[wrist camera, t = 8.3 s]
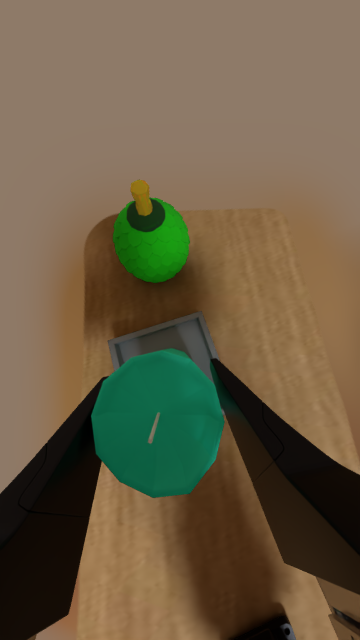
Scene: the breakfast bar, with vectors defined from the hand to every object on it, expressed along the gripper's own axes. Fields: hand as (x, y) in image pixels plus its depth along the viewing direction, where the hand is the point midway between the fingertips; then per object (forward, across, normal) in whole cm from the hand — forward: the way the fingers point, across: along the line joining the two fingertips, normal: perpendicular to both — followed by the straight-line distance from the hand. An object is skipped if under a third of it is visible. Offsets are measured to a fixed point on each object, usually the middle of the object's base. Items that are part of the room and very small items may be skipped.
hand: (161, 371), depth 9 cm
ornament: (+15, 0, -3) cm, 16 cm away
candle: (+5, 0, +7) cm, 8 cm away
